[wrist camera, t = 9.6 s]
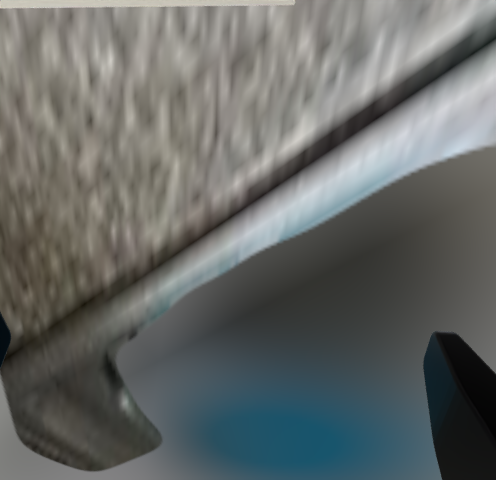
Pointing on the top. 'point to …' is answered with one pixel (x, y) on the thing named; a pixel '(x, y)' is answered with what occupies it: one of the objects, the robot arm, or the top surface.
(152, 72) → the top surface
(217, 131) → the top surface
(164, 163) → the top surface
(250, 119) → the top surface
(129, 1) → the tray
